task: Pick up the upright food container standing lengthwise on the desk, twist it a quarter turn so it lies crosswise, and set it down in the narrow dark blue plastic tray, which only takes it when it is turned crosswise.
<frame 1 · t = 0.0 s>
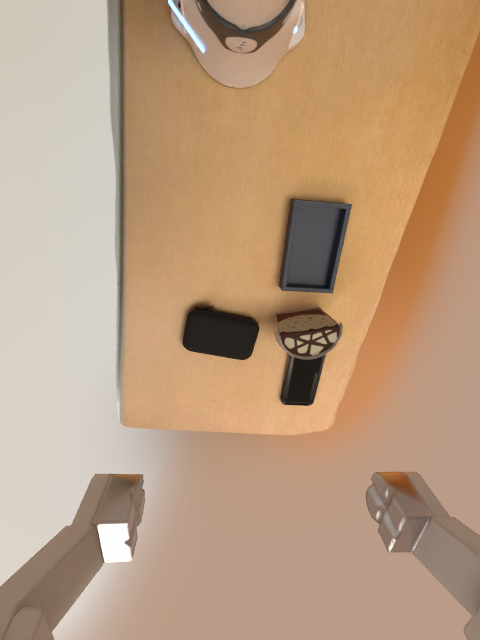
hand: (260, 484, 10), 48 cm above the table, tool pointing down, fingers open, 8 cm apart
phone: (301, 375, 67), on the table
tray: (310, 247, 55), on the table
carrying case: (221, 329, 61), on the table
food container: (297, 323, 62), on the table
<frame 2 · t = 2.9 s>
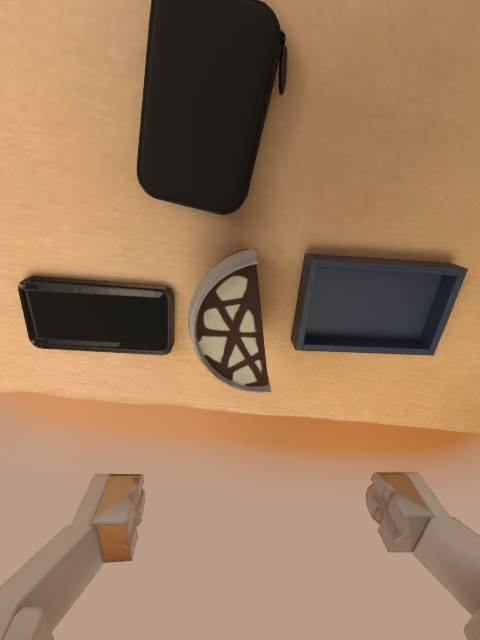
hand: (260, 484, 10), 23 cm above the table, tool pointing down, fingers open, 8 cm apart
phone: (104, 315, 32), on the table
tray: (367, 303, 33), on the table
carrying case: (211, 117, 25), on the table
food container: (225, 295, 32), on the table
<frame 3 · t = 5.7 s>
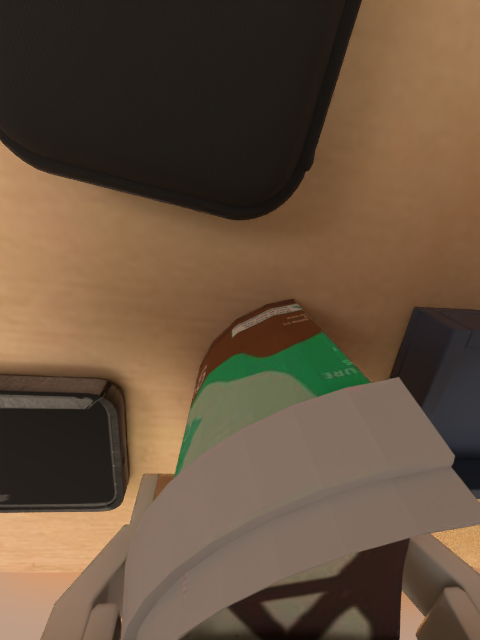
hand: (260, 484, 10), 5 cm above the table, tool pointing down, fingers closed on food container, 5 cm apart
food container: (235, 390, 15), on the table, touching gripper
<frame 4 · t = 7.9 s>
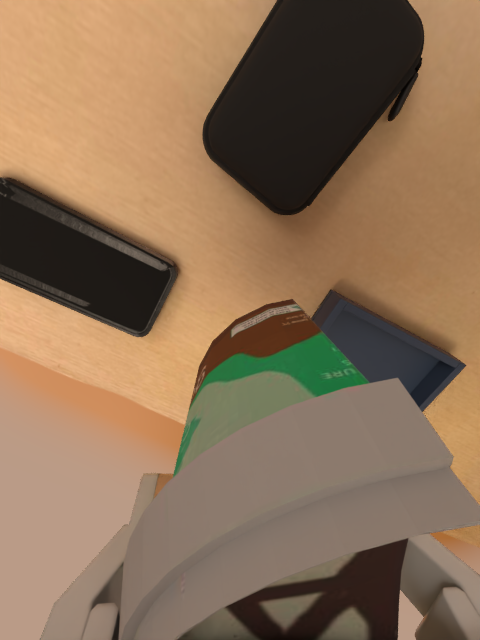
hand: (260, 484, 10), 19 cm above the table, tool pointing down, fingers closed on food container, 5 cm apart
phone: (83, 263, 25), on the table
tray: (363, 361, 32), on the table
carrying case: (307, 106, 22), on the table
food container: (234, 390, 15), point 14 cm above the table, touching gripper
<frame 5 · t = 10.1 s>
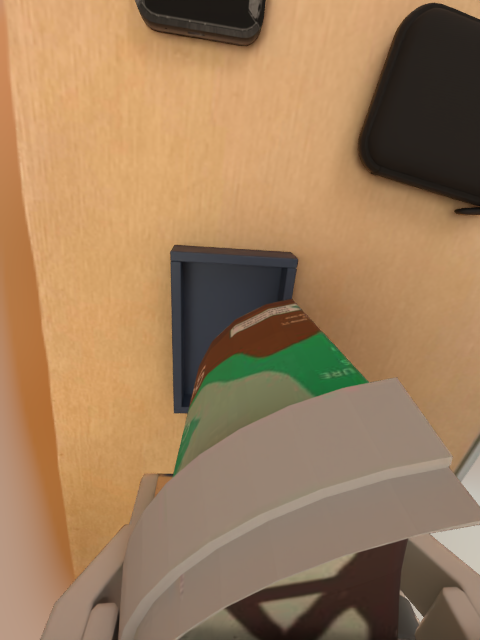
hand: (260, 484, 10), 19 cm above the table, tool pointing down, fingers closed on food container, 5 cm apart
tray: (228, 331, 28), on the table
carrying case: (447, 132, 23), on the table
food container: (234, 390, 15), point 13 cm above the table, touching gripper
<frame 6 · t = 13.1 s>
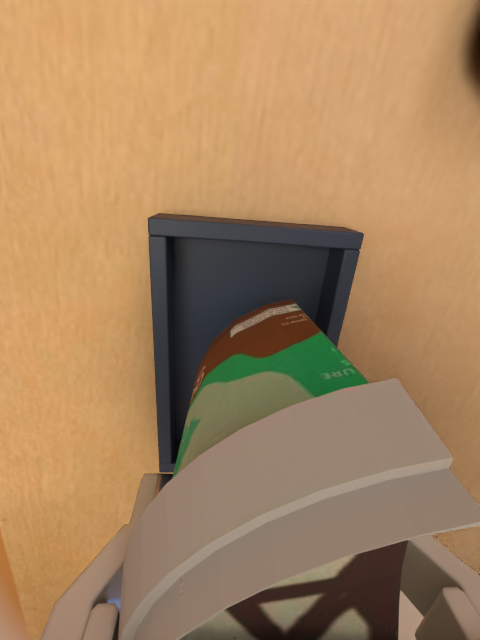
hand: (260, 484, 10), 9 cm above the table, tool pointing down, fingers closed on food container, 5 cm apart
tray: (241, 350, 19), on the table
food container: (234, 390, 15), point 4 cm above the table, touching gripper
when the fingers open (5 cm above the table, at t = 14.8 s): food container stays where it is, resting on tray.
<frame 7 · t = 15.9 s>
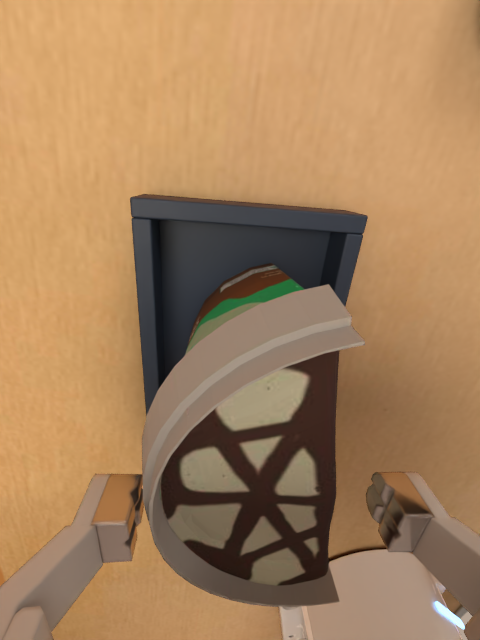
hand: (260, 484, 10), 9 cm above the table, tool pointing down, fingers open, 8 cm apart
tray: (236, 343, 18), on the table
food container: (224, 345, 17), resting on tray
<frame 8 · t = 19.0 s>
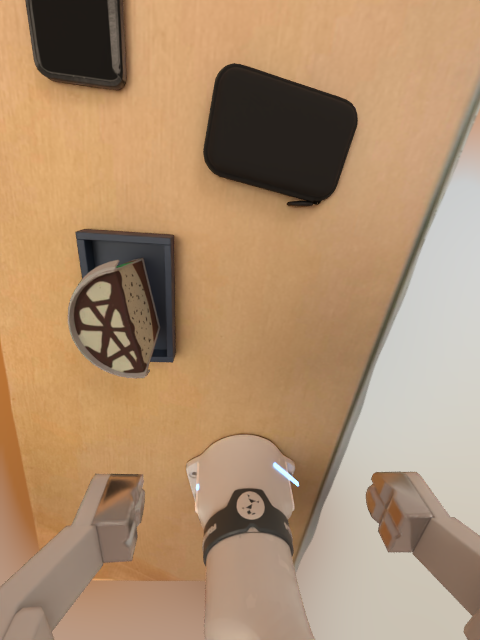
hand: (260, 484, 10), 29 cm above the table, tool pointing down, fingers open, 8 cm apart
tray: (134, 297, 37), on the table
carrying case: (275, 147, 32), on the table
food container: (128, 296, 37), resting on tray
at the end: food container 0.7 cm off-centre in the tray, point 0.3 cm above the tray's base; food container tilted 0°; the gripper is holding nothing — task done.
